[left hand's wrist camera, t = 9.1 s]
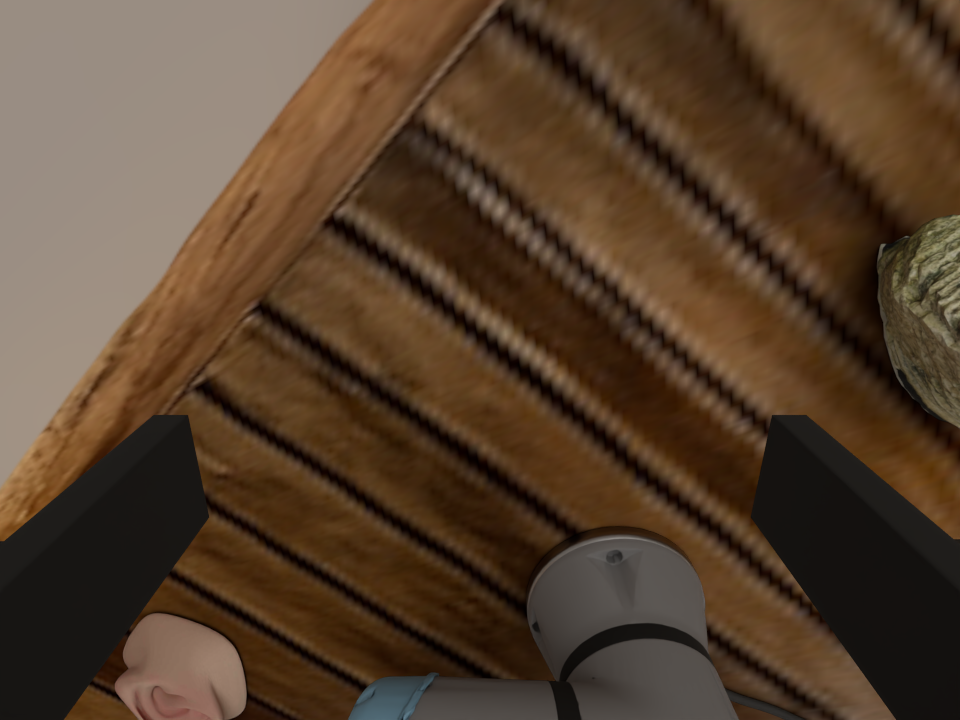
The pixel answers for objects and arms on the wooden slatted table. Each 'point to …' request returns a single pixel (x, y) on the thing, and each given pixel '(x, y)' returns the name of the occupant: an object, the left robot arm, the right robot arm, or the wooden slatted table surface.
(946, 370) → the fossil
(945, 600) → the left robot arm
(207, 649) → the anatomical model
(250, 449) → the wooden slatted table surface
